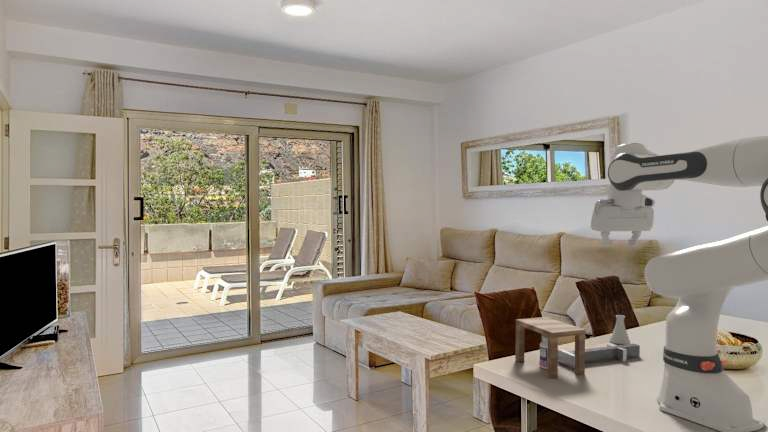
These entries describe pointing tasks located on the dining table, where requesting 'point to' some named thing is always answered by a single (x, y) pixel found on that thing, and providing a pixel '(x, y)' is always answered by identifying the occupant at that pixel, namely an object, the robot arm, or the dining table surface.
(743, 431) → the robot arm
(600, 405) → the dining table surface
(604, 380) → the dining table surface
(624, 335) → the flask
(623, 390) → the dining table surface
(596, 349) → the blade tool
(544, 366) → the pill bottle
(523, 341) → the low table
